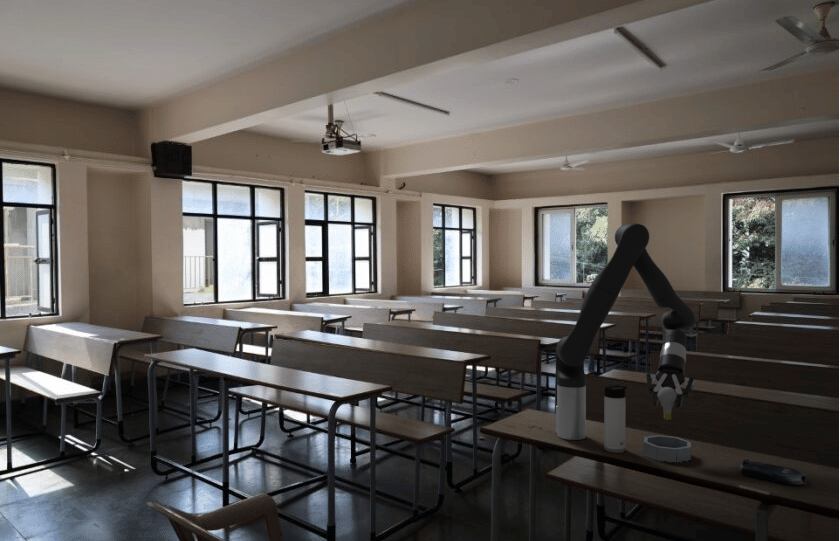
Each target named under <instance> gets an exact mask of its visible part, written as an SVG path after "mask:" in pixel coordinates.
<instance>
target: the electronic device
mask: <svg viewBox="0 0 840 541" xmlns="http://www.w3.org/2000/svg"><path fill="white" fill-rule="evenodd" d="M739 469H740V470H739V472H740V473H741V475H743V476H748V477H752V478H753V477H754V478H757V479H762V480H769V481H771V482H773V483H774V482H775V483H778V484H784V485H785V486H786V485H788V486H801V485H807V484H806V483H807V479H806V474H804V473H803V472H801V471H800V470H797V469H794V468H790V467H787V466H782V465H778V464H777V465H776V464H772V463H763V462H760V461H752V460H749V459H748V458H744V459H743V460H742V461H741V463H740V466H739Z"/></svg>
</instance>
